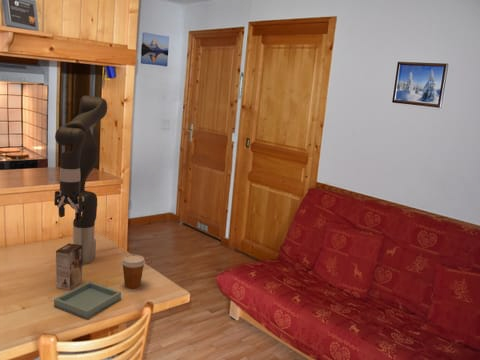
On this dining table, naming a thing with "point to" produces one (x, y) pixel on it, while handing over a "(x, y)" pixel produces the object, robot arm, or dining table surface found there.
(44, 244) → the dining table surface
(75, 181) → the robot arm
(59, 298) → the tray
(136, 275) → the disposable coffee cup
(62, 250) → the coffee box
